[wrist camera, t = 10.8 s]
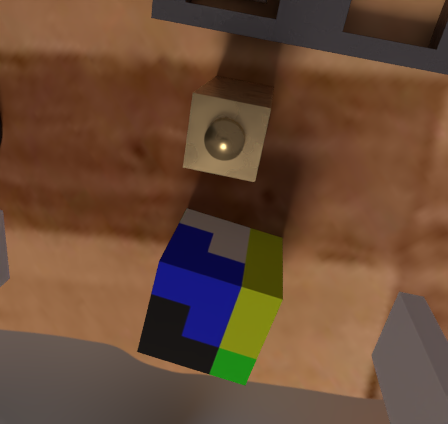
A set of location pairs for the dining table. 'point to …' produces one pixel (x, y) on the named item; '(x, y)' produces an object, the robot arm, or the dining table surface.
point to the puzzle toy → (214, 297)
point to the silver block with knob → (262, 0)
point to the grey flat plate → (313, 30)
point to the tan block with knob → (228, 127)
